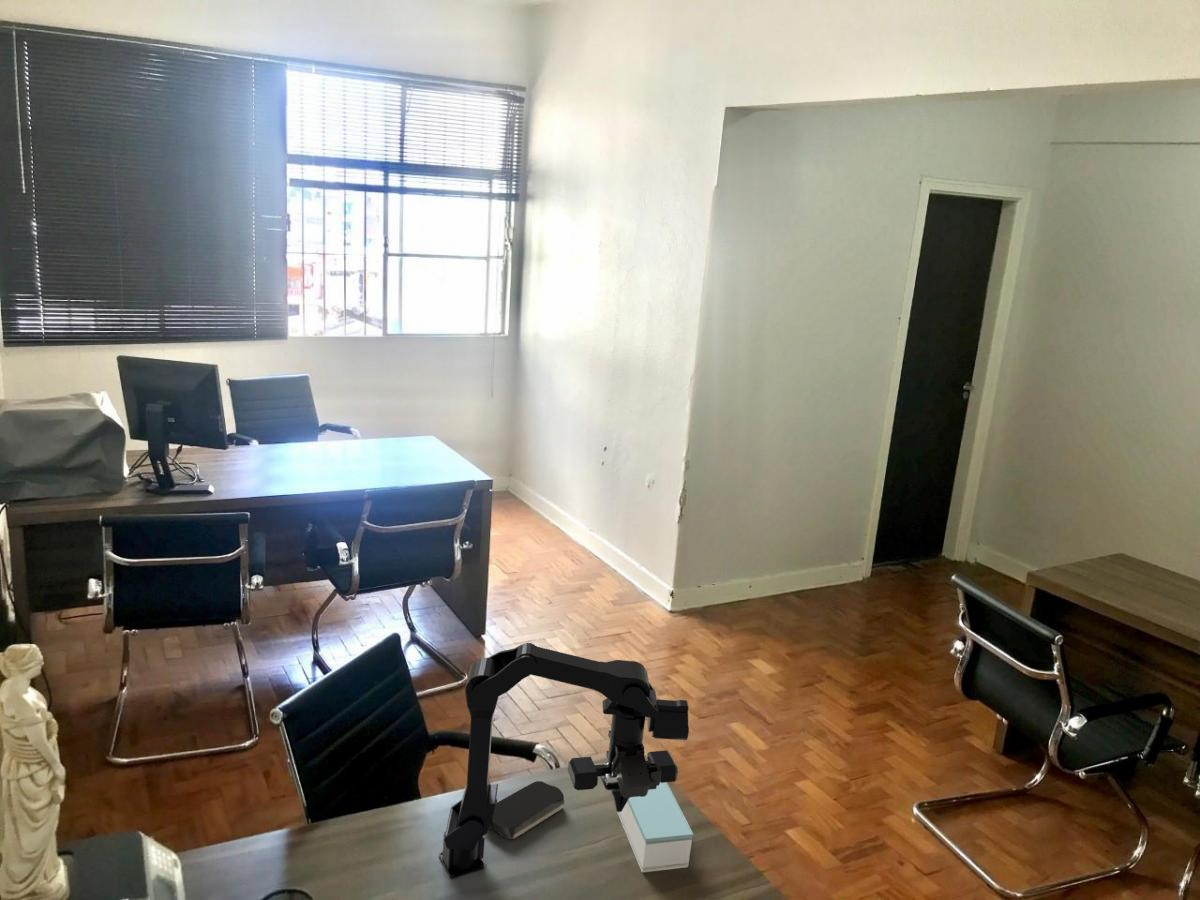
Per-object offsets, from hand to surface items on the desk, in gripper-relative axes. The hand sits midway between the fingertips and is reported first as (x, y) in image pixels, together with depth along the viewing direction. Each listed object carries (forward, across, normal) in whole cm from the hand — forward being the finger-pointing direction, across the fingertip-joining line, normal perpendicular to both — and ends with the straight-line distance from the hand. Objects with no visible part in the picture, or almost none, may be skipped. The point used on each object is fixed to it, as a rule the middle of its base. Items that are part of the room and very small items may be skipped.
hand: (618, 810), depth 159 cm
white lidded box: (+13, +10, +8) cm, 18 cm away
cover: (+7, +10, +8) cm, 14 cm away
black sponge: (+14, -13, +17) cm, 26 cm away
